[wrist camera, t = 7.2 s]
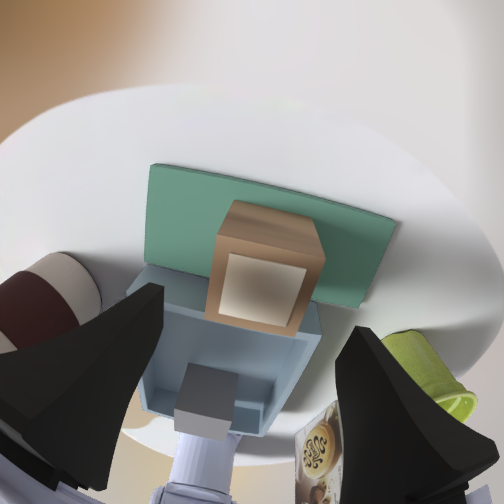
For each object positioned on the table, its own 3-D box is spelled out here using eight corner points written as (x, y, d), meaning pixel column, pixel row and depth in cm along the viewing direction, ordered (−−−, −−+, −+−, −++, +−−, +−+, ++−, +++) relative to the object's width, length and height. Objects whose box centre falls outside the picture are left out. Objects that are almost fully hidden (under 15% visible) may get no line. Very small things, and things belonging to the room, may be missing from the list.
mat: (355, 301, 19) (358, 308, 18) (148, 256, 18) (144, 261, 18) (391, 219, 16) (396, 223, 15) (155, 163, 16) (150, 165, 15)
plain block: (231, 399, 25) (224, 441, 20) (186, 389, 24) (174, 430, 20) (239, 373, 22) (231, 421, 18) (188, 362, 22) (173, 408, 18)
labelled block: (290, 282, 18) (294, 338, 13) (221, 267, 17) (203, 320, 13) (311, 217, 16) (326, 259, 11) (233, 199, 15) (216, 235, 11)
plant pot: (324, 367, 22) (334, 455, 14) (404, 294, 18) (451, 383, 11) (385, 393, 24) (402, 461, 16) (454, 336, 20) (490, 404, 12)
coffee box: (335, 438, 29) (341, 544, 15) (293, 433, 28) (290, 549, 14) (380, 405, 25) (402, 530, 11) (335, 398, 24) (347, 544, 10)
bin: (264, 410, 26) (263, 437, 23) (152, 384, 26) (142, 410, 22) (316, 301, 19) (322, 335, 16) (147, 263, 19) (126, 291, 16)
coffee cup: (97, 233, 18) (-48, 380, 5) (130, 336, 22) (59, 478, 9) (22, 237, 19) (-86, 332, 5) (56, 322, 23) (-16, 424, 10)
